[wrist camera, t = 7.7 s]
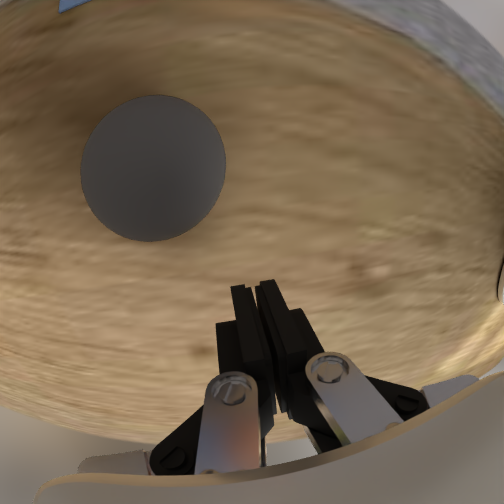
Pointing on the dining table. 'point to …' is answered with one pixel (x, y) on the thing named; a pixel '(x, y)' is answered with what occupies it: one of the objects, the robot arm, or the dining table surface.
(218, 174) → the dark gray ball
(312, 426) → the robot arm
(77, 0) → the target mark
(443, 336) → the dining table surface
